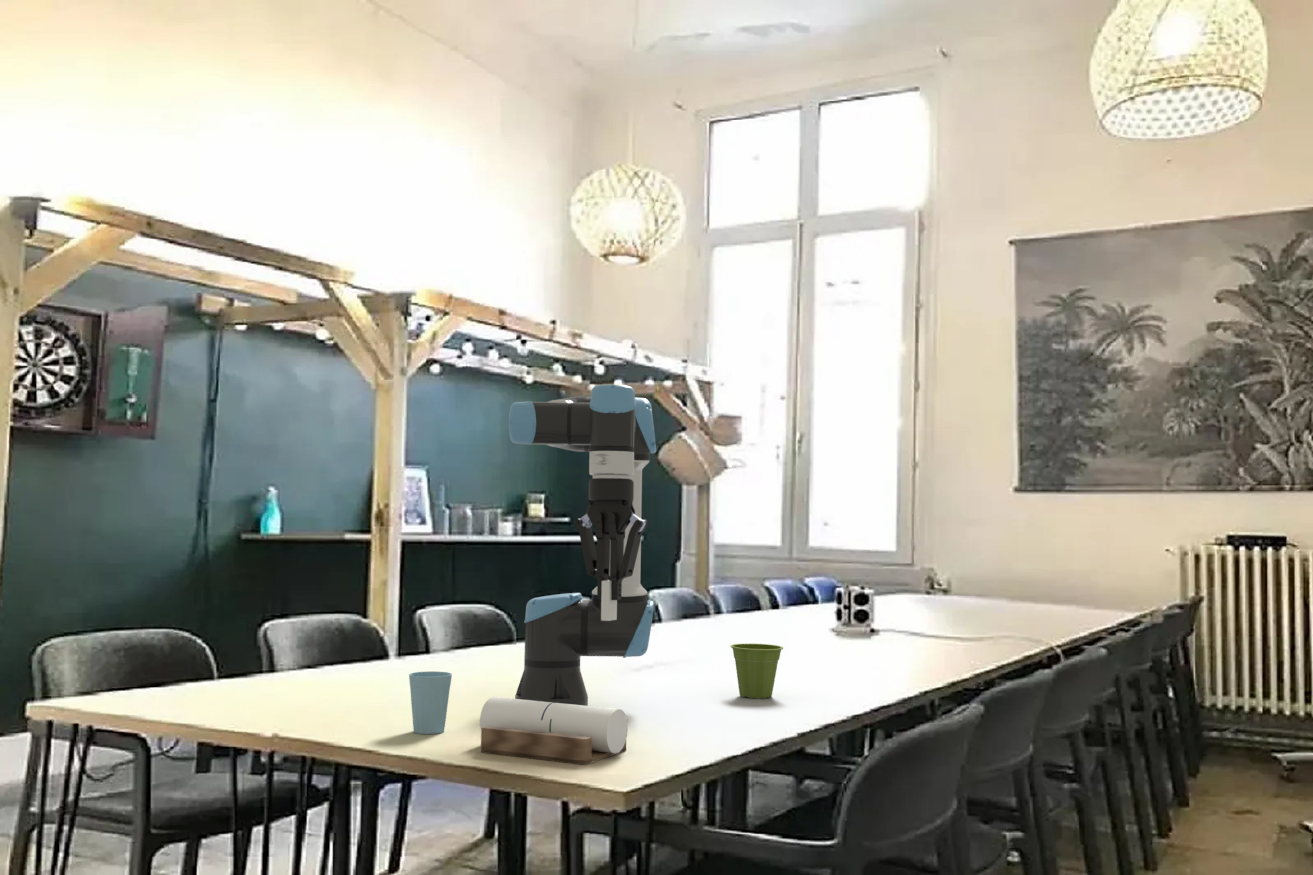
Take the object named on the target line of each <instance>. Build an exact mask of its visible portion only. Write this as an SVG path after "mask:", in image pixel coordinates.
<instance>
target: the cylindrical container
mask: <svg viewBox="0 0 1313 875" xmlns="http://www.w3.org/2000/svg"><path fill="white" fill-rule="evenodd" d="M481 708H482V709H481V711H480V715H479V716H480V717H479V726H480V729H481V728H483V727H487V726H492V727H502V728H511V729H520V730H529V731H538V732H548V733H557V734H566V735H575V736H585V737H592V751H598V752H607V753H617V754H619V753H618V752H620V751H621V750H622V748H623V746H624V744H625V742H626V743H627V738H628V734H629V733H628V726H629V724H628V723H629V722H628V716H627V714H626V713H625V711H624V710H623V709H621V708H613V707H603V706H601V707H600V706H593V705H592V706H591V705H588V706H583V705H573V704H563V703H553V702H543V701H532V700H522V699H515V698H510V697H501V696H499V697H498V696H491V697H489V698H488V699H487V700H486V701H485V703H484V704H483V707H481ZM620 753H621V752H620Z"/></svg>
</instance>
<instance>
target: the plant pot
mask: <svg viewBox="0 0 1313 875" xmlns="http://www.w3.org/2000/svg"><path fill="white" fill-rule="evenodd" d="M730 648H731V649H732V652H733V658H734V661H735V670H736V677H737V684H738V685H737V686H738V691H739V693H738V694H739V696H740V697H742V698H746V697H748V698H749V699H752V700H753V699H754V700H755V699H760V700H763V699H767V698H772V696H773V691H774V686H775V679H776V674H777V668H778V663H779V660H780V657H781V652H782V650H784V646H782V645H776V644H768V643H735V644H730Z"/></svg>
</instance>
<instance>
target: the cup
mask: <svg viewBox="0 0 1313 875" xmlns="http://www.w3.org/2000/svg"><path fill="white" fill-rule="evenodd" d="M408 677H409V678H408V679H409V688H410V689H409V690H410V700H411V701H410V703H411V713H412V714H411V715H412V727H413V728H412V730H413V733H414V732H415V734H419V735H436V734H437V735H439V734H441V733H444V732H445V727H446V721H447V720H446V719H447V714H448V713H447V712H448V705H449V696H450V688H451V684H452V677H453V674H452V672H447V671H433V670H432V671H430V670H429V671H417V672H411V673H409V674H408Z"/></svg>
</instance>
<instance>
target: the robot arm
mask: <svg viewBox="0 0 1313 875" xmlns="http://www.w3.org/2000/svg"><path fill="white" fill-rule="evenodd" d="M635 392H636V391H635V389H634V388H633V387H632V386H629V385H622V384H600V385H595V386H593V387H592V389H591V391H590V396H585V395H583V396H581V395H579V396H570V397H564V398H559V399H552V400H549V401H532V400H526V401H515V402H513V403H512V404H511V405H510V408H509V411H508V412H509V414H508V434H509V440H510V442H512V443H513V444H516V445H525V446H531V445H532V446H533V445H543V446H545V445H546V446H548V447H551V448H557V449H558V448H559V449H563V450H566V451H573V452H580V453H581V452H582V453H583V452H585V453H589V460H588V463H589V468H588V473H589V475H590V476H592V478H589V480H588V501H589V505H588V507H587V510H586V513H585V514H584V515H583V516H582V517H580V518H575V519H574V521H573V522H574V523H573V524H574V526H575V527H576V529H577V531H578V534H579V538H580V544H581V548H582V555H583V559H584V560H583V561H584V564H585V570H586V571H585V572H586V575H587V576H589V577H593V578H594V579H596V581H597V582H596V583H597V585H596V587H594V589H592V591H591V599H583V595H582V593H581V592H572V593H570V592H569V593H567V592H566V593H560V594H558V593H557V594H550V595H544V596H539V597H534V598H531V599H530V600H528V601H527V603H526V606H525V616H524V618H525V619H524V620H523V621H524V622H523V623H524V627H525V628H524V629H525V630H524V660H523V661H524V664H523V668H524V669H523V671H522V675H521V678H520V680H519V684H518V687H517V688H516V689H517V690H516V692H515V695H514V699H522V700H532V701H543V702H553V703H563V704H573V705H583V706H589V695H588V692H587V689H586V685H585V682H584V679H583V675H582V671H581V657H619V658H620V657H621V658H624V659H625V658H633V657H635V658H636V657H642V656H643V655H645V654H646V653H647V651H648V648H649V642H650V637H651V636H650V635H651V631H652V622H653V617H654V616H653V615H654V608H655V602H654V601H653V600H651V599H648V591H647V589H645V588H644V587H643V585H642V584H641V570H642V569H641V566H642V565H641V562H642V561H641V560H642V559H641V558H642V556H641V555H642V535H643V533H644V531H645V530H646V528H647V526H648V525H649V524H648V523H649V522H648V521H647V519H642V501H643V500H642V499H643V498H642V496H643V495H642V494H643V488H642V487H643V469H644V468H645V467H646V466H648V464H649V463H650V455H652V454H655V453H656V452H657V445H656V434H655V425H654V417H653V408H652V403H651V402H650V401H649V400H648V399H647V398H644V397H636V393H635ZM592 526H593V527H594V528H595V538H594V532H593V529H592ZM595 539H596V542H595Z"/></svg>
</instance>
